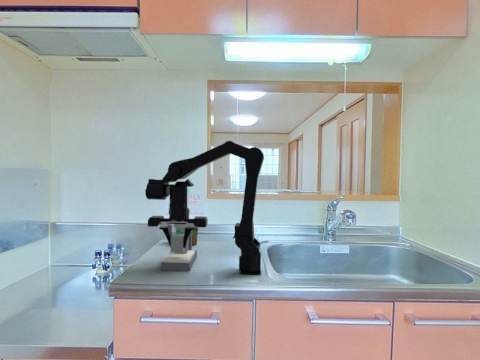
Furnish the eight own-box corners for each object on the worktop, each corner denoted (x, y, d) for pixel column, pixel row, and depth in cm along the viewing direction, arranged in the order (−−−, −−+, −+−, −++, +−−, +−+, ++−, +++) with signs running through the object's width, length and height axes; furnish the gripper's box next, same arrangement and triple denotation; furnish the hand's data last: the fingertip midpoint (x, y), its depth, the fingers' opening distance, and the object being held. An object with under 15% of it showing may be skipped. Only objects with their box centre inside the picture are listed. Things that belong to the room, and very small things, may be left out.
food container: (167, 244, 140) (167, 221, 139) (176, 242, 145) (176, 220, 145) (190, 248, 134) (191, 224, 134) (199, 245, 139) (199, 222, 139)
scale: (197, 256, 121) (197, 234, 121) (189, 270, 104) (190, 244, 104) (172, 256, 121) (173, 233, 121) (161, 270, 104) (161, 243, 104)
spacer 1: (185, 249, 109) (185, 234, 109) (183, 252, 105) (183, 236, 105) (173, 249, 109) (173, 234, 109) (170, 251, 105) (170, 236, 105)
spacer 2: (188, 250, 117) (188, 237, 116) (186, 253, 113) (187, 239, 112) (177, 250, 117) (177, 236, 116) (175, 253, 113) (175, 239, 112)
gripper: (209, 198, 114) (208, 242, 115) (156, 197, 115) (156, 241, 115) (205, 201, 103) (205, 250, 104) (147, 200, 103) (147, 249, 104)
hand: (178, 247), depth 107 cm, fingers closed on spacer 1, 4 cm apart
